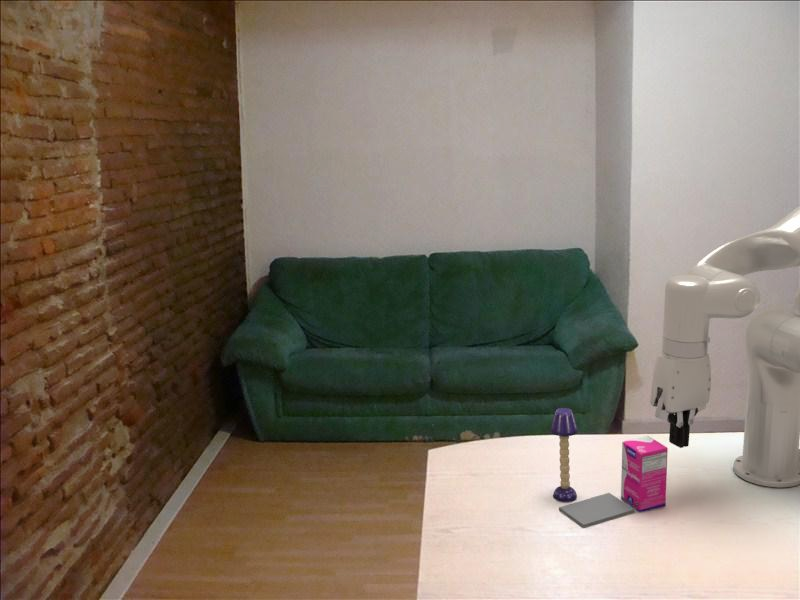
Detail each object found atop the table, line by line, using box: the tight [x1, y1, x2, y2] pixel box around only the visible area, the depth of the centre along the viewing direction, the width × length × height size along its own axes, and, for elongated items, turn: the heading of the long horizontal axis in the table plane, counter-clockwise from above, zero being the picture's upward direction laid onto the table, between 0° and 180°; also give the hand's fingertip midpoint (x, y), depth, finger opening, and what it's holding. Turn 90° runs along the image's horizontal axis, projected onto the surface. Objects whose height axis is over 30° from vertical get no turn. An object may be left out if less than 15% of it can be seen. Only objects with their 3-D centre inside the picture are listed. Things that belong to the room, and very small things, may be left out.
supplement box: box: [620, 435, 669, 513], centre depth 154 cm, size 6×6×12 cm
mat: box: [558, 492, 636, 529], centre depth 153 cm, size 11×7×1 cm, turn 115°
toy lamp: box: [550, 407, 578, 503], centre depth 156 cm, size 5×5×17 cm
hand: (678, 444), depth 156 cm, fingers closed
